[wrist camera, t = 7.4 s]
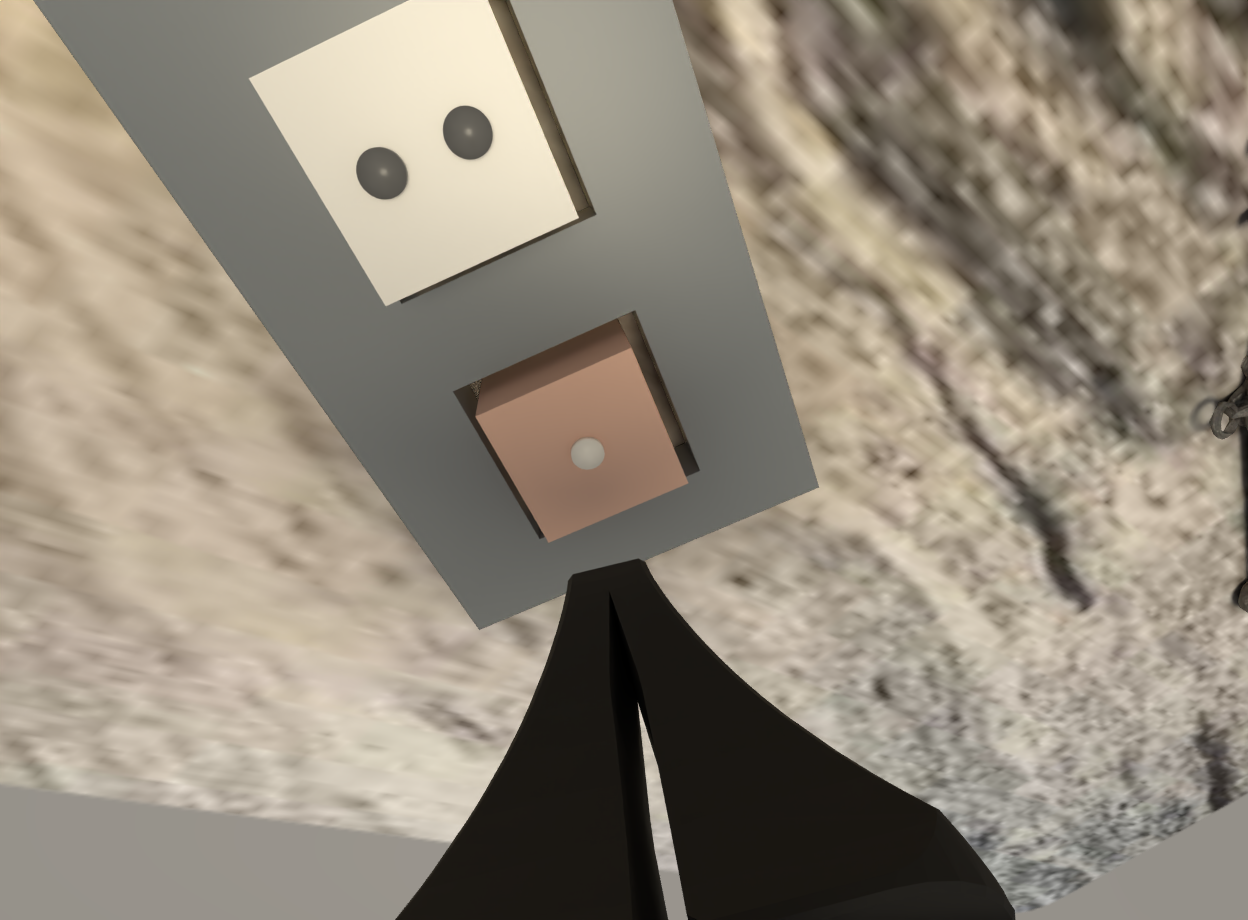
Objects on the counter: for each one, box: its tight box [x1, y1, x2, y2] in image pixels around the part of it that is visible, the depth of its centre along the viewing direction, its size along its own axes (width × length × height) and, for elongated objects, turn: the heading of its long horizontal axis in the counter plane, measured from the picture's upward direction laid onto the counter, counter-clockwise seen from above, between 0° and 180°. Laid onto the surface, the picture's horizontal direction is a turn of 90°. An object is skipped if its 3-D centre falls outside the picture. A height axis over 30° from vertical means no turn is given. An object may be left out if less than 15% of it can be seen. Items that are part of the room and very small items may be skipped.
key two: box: [249, 0, 579, 306], centre depth 13 cm, size 4×4×3 cm
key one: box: [475, 318, 688, 543], centre depth 19 cm, size 4×4×3 cm
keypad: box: [34, 0, 819, 630], centre depth 16 cm, size 12×26×2 cm, turn 22°
